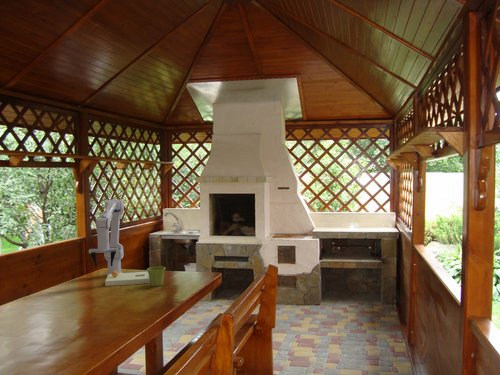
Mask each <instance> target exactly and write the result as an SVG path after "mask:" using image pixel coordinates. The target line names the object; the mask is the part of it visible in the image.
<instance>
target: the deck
mask: <svg viewBox="0 0 500 375" xmlns="http://www.w3.org/2000/svg"><path fill="white" fill-rule="evenodd" d="M104 283H105V287H111V286H128V285H140V284H141V285H142V284H144V283H145V284H150V278H149V273H148V271H138V272H137V271H136V272H135V271H134V272H122V273H118V276H117V277H113V276H112V274H109V275H108V277H106V279H105V281H104Z"/></svg>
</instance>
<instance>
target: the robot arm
mask: <svg viewBox="0 0 500 375" xmlns="http://www.w3.org/2000/svg"><path fill="white" fill-rule="evenodd" d="M104 209H105V210H103V211H102V213H101V214H100V216H99V217H98V218H96V219H95V228H96V229H95V230H96V231H95V232H96V233H97V234H96V235H97V248H89V250H88V254H90V256H91V258H92V260H93V263H94V267H95V268H98V254H100V253H101V254H102V253H104V254H103V255H104V257H103V258H104V259H105V260H106V261H107V275H106V278H107V277H108V275H109V274H112V272H113V271H117V272H118V273H123V271H122V262H121V260H122V259H123V258H124V246H123V245H122V244H121V243H119V242H120V241H119V239H120V222H121V221H120V220H121V216H122V215H123V214H124V211H125V202H124V200H123V199H122V198H120V199H105V201H104Z"/></svg>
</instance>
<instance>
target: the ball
mask: <svg viewBox="0 0 500 375" xmlns="http://www.w3.org/2000/svg"><path fill="white" fill-rule="evenodd" d="M112 276H113V277H117V276H118V272H117V271H113V272H112Z"/></svg>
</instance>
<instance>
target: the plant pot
mask: <svg viewBox="0 0 500 375" xmlns="http://www.w3.org/2000/svg"><path fill="white" fill-rule="evenodd" d="M165 270H166V267H165V266H153V267H151V266H150V267H148V268H147V269H146V271H147V272H148V273H149V278H150V283H149V284H150V286H151V287H158V286H159V287H160V286H162V285H163V284H164V276H165Z"/></svg>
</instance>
